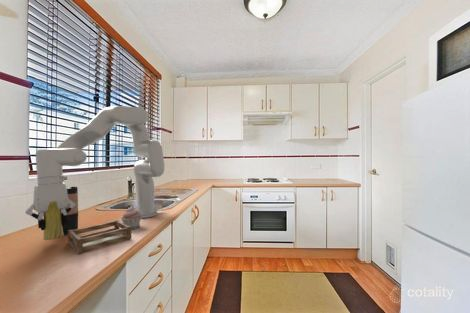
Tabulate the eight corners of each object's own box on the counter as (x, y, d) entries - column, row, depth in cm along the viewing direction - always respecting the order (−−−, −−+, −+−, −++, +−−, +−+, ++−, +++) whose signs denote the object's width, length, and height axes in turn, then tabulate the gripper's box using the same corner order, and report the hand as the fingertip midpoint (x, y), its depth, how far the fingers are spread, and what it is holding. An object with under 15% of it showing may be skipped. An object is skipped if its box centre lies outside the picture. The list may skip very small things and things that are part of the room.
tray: (117, 231, 101) (117, 219, 101) (131, 239, 92) (131, 226, 92) (68, 243, 88) (67, 230, 88) (78, 254, 78) (77, 239, 78)
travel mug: (67, 235, 96) (66, 189, 96) (52, 234, 98) (51, 188, 97) (82, 229, 104) (82, 186, 103) (69, 228, 105) (68, 186, 105)
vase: (40, 241, 83) (38, 203, 82) (46, 235, 88) (44, 199, 88) (60, 238, 85) (58, 201, 85) (65, 233, 91) (63, 198, 90)
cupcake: (144, 228, 105) (143, 207, 105) (121, 231, 101) (121, 209, 100) (141, 223, 113) (140, 203, 113) (120, 226, 109) (120, 205, 108)
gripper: (74, 177, 95) (76, 219, 96) (18, 182, 82) (21, 231, 83) (79, 178, 90) (81, 223, 90) (20, 184, 77) (23, 236, 78)
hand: (52, 226), depth 87 cm, fingers closed on vase, 5 cm apart
